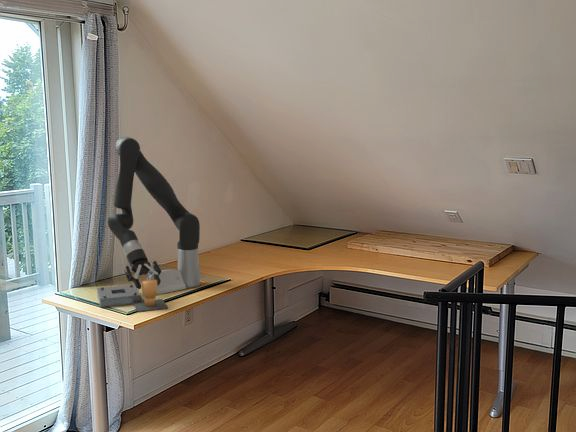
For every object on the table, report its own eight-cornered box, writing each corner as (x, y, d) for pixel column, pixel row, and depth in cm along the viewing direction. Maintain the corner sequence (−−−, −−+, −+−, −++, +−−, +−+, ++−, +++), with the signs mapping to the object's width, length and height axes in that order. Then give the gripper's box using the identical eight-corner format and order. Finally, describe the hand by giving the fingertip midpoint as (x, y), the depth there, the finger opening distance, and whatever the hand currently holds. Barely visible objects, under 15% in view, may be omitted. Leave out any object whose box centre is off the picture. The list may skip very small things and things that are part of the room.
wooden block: (156, 301, 250) (155, 278, 249) (158, 306, 245) (158, 282, 243) (141, 303, 248) (140, 279, 247) (143, 307, 243) (143, 283, 241)
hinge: (152, 295, 260) (147, 272, 261) (147, 296, 264) (143, 274, 265) (187, 288, 270) (182, 266, 271) (182, 289, 274) (178, 267, 275)
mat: (162, 300, 254) (162, 298, 254) (167, 308, 243) (167, 307, 243) (133, 303, 250) (133, 302, 250) (137, 312, 239) (137, 310, 239)
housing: (135, 292, 265) (135, 283, 264) (140, 303, 250) (140, 293, 249) (97, 295, 259) (96, 286, 258) (100, 307, 244) (100, 297, 244)
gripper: (121, 251, 245) (136, 284, 238) (153, 245, 254) (168, 278, 248) (116, 261, 250) (130, 294, 243) (147, 255, 259) (161, 287, 253)
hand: (149, 286), depth 246 cm, fingers open, 8 cm apart
